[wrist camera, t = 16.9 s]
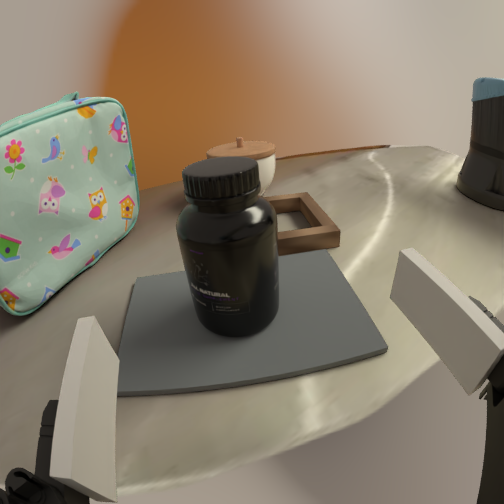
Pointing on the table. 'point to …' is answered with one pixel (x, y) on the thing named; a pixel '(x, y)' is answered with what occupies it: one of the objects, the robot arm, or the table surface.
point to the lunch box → (62, 195)
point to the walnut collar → (308, 238)
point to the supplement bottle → (229, 246)
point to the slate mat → (249, 347)
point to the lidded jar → (250, 149)
